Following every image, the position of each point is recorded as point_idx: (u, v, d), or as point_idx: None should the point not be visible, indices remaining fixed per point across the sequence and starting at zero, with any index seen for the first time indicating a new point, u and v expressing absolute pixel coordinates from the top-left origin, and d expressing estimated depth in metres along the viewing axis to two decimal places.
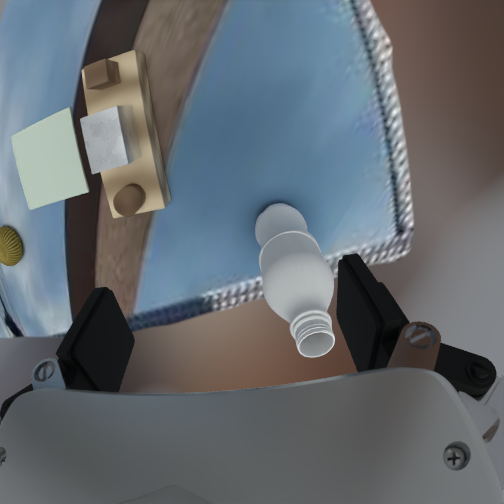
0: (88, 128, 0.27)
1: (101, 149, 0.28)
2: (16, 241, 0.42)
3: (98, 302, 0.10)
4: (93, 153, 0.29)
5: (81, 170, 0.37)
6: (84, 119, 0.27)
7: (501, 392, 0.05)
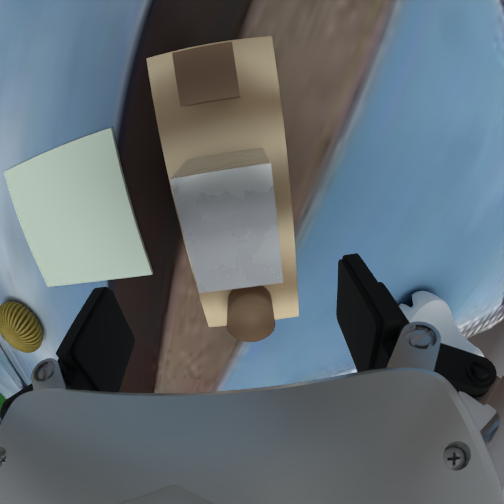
0: (193, 204, 0.14)
1: (225, 251, 0.16)
2: (31, 320, 0.30)
3: (98, 302, 0.10)
4: (204, 256, 0.16)
5: (138, 241, 0.25)
6: (182, 182, 0.14)
7: (501, 392, 0.05)
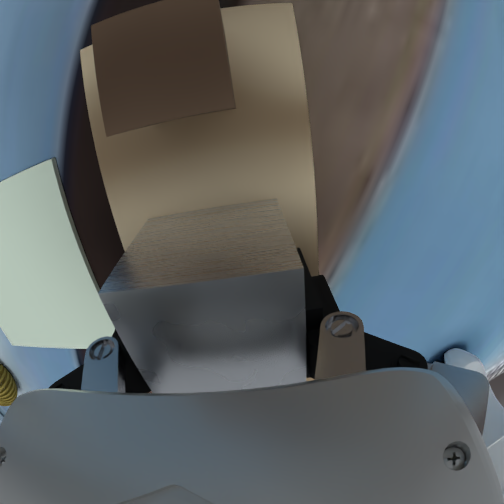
0: (148, 336, 0.07)
1: None
2: None
3: None
4: None
5: (103, 310, 0.17)
6: (121, 300, 0.07)
7: None
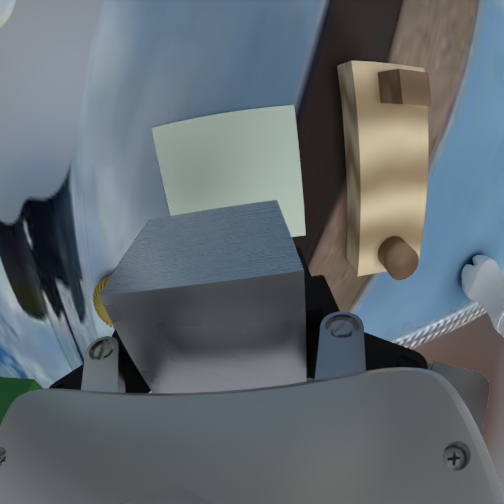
0: (148, 337, 0.07)
1: None
2: None
3: None
4: None
5: (301, 204, 0.30)
6: (121, 302, 0.07)
7: None
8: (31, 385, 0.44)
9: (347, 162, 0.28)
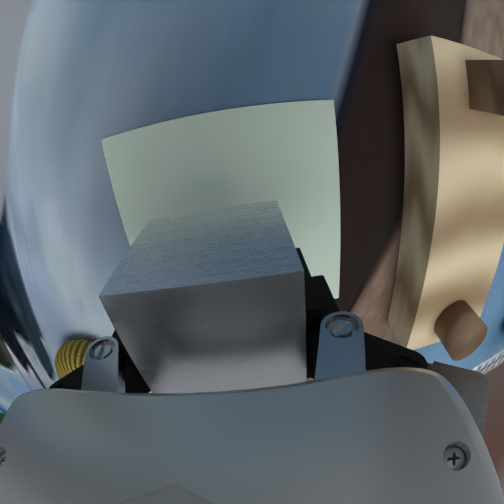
0: (148, 338, 0.07)
1: None
2: None
3: None
4: None
5: (336, 256, 0.20)
6: (121, 302, 0.07)
7: None
8: None
9: (407, 195, 0.17)
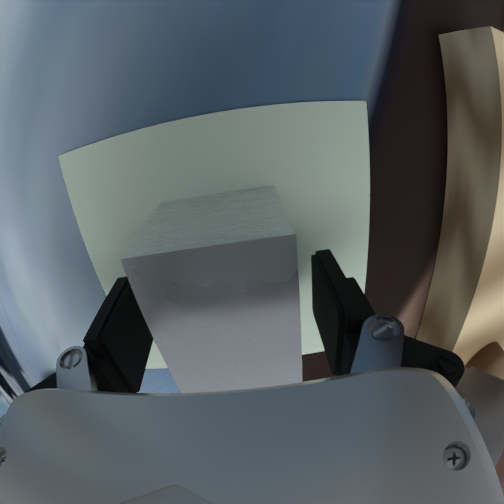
0: (162, 298, 0.08)
1: (219, 359, 0.10)
2: None
3: (123, 290, 0.10)
4: (187, 364, 0.10)
5: None
6: (140, 264, 0.08)
7: (472, 383, 0.05)
8: None
9: (447, 225, 0.13)
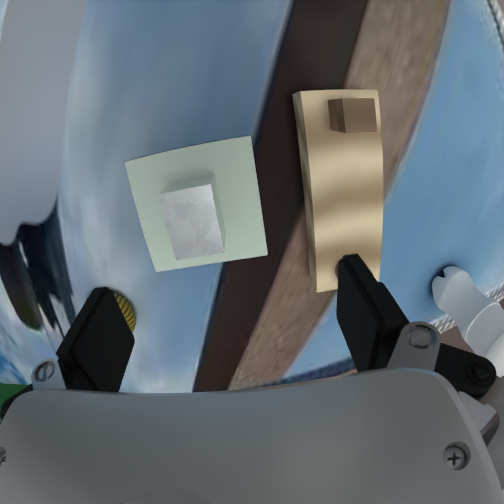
0: (171, 207, 0.26)
1: (189, 234, 0.28)
2: (122, 309, 0.38)
3: (98, 302, 0.10)
4: (178, 237, 0.28)
5: (261, 227, 0.33)
6: (164, 195, 0.26)
7: (501, 392, 0.05)
8: None
9: (304, 187, 0.31)
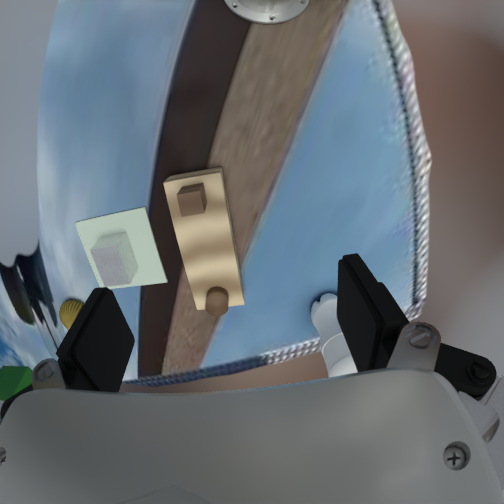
0: (97, 257, 0.41)
1: (109, 272, 0.43)
2: None
3: (98, 302, 0.10)
4: (103, 274, 0.43)
5: (160, 264, 0.48)
6: (93, 250, 0.41)
7: (501, 392, 0.05)
8: (26, 370, 0.62)
9: None
